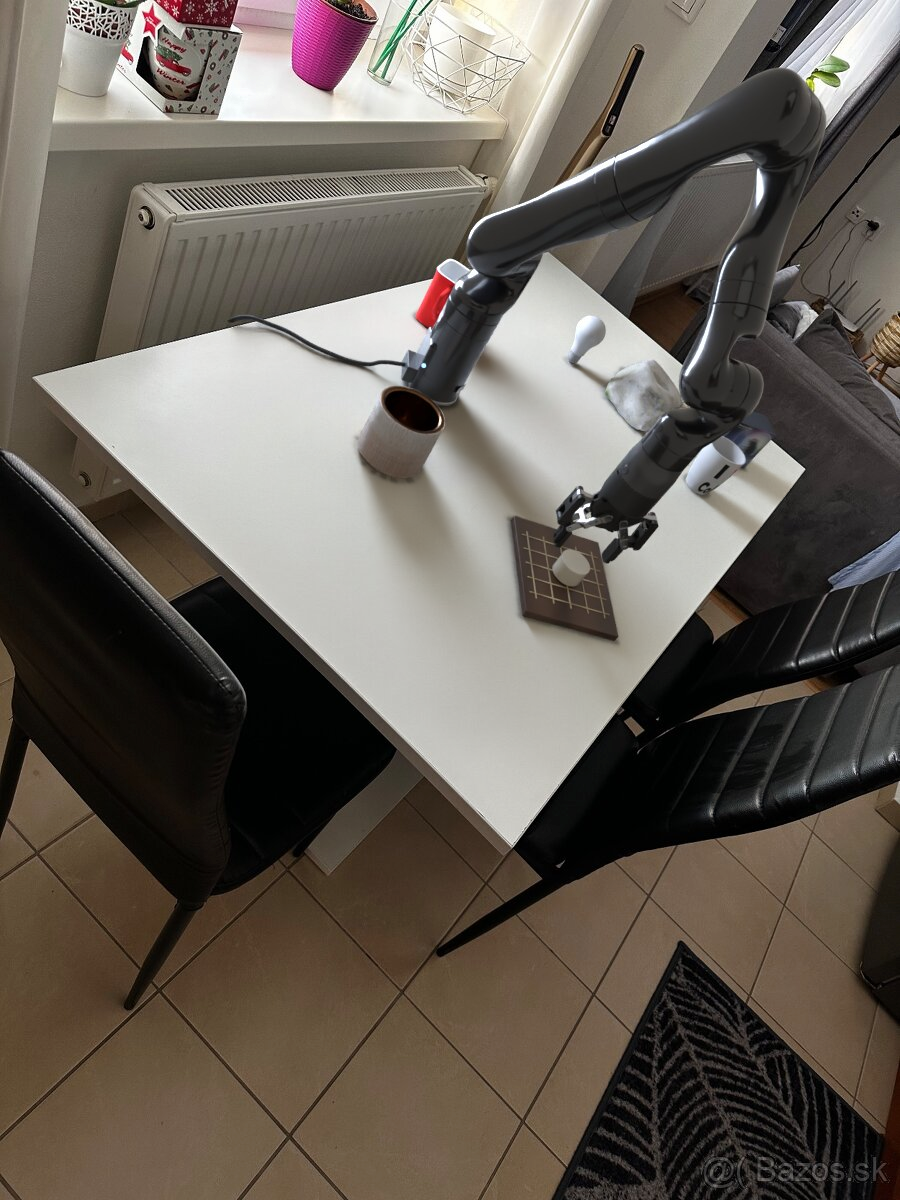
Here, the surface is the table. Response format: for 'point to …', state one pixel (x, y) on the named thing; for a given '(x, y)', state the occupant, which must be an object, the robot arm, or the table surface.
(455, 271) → the mug
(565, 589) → the board
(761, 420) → the small box
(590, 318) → the lightbulb
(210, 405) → the table surface
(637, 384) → the stone
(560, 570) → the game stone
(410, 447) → the planter
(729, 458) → the cup
